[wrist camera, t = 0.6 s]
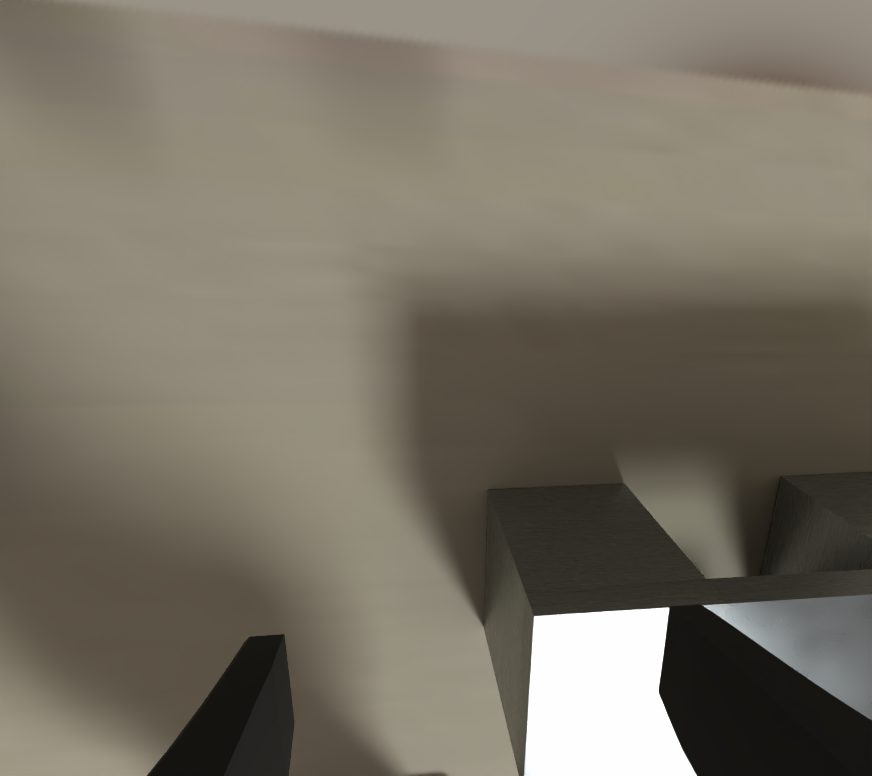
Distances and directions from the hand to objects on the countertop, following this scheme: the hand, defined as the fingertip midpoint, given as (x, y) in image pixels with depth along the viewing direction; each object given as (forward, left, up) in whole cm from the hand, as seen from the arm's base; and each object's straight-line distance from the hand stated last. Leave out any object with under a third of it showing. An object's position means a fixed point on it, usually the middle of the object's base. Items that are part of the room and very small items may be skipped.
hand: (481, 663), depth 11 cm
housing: (-5, -10, -10) cm, 14 cm away
